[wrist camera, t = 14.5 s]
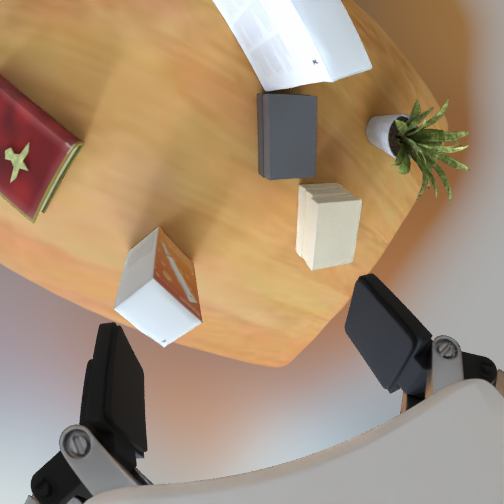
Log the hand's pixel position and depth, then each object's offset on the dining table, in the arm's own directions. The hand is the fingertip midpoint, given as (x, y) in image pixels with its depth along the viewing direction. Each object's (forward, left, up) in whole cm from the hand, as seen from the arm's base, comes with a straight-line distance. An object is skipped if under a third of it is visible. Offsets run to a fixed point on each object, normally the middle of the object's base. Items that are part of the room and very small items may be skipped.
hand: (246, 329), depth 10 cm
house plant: (-4, +28, -28) cm, 40 cm away
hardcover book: (-10, -25, -28) cm, 39 cm away
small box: (+12, -6, -28) cm, 31 cm away
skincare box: (-20, +8, -28) cm, 36 cm away
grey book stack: (-4, +12, -28) cm, 31 cm away
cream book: (+9, +18, -24) cm, 31 cm away
